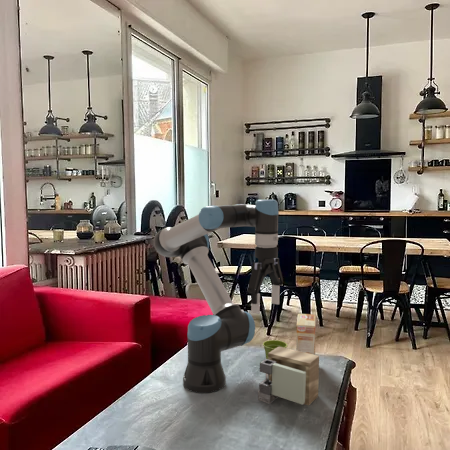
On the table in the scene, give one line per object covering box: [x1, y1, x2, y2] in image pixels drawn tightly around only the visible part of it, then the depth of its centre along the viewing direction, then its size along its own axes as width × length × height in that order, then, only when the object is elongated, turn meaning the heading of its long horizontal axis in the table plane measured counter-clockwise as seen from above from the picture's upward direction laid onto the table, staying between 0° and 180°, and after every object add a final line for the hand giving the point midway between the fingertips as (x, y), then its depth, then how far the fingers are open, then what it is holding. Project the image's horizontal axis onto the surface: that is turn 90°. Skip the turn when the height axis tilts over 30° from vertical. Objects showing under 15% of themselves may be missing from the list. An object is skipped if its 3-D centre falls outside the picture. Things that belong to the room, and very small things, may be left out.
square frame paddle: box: [258, 358, 306, 406], centre depth 144 cm, size 15×4×10 cm, turn 54°
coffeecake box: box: [295, 313, 317, 355], centre depth 172 cm, size 15×7×20 cm, turn 168°
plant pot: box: [262, 339, 288, 359], centre depth 176 cm, size 9×9×9 cm
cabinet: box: [257, 347, 320, 406], centre depth 149 cm, size 15×14×14 cm
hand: (265, 308), depth 153 cm, fingers open, 13 cm apart
